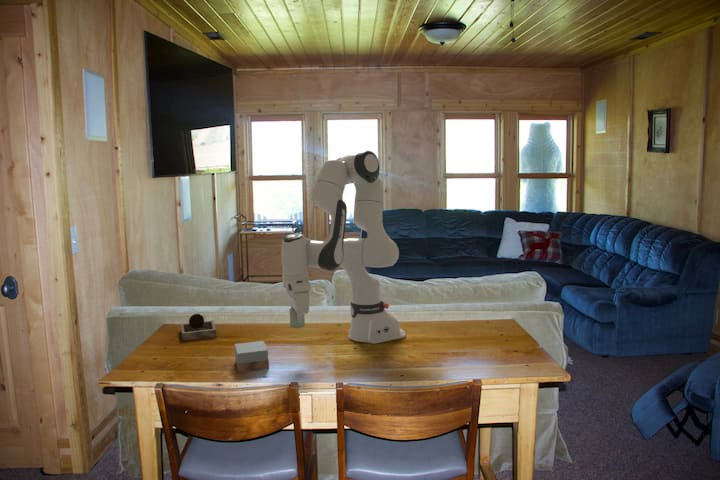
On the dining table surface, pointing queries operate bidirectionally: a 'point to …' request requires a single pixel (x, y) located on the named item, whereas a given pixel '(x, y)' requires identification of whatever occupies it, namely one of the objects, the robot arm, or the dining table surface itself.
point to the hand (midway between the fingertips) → (297, 319)
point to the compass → (197, 322)
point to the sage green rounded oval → (295, 320)
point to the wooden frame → (198, 334)
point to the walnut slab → (252, 365)
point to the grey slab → (251, 352)
